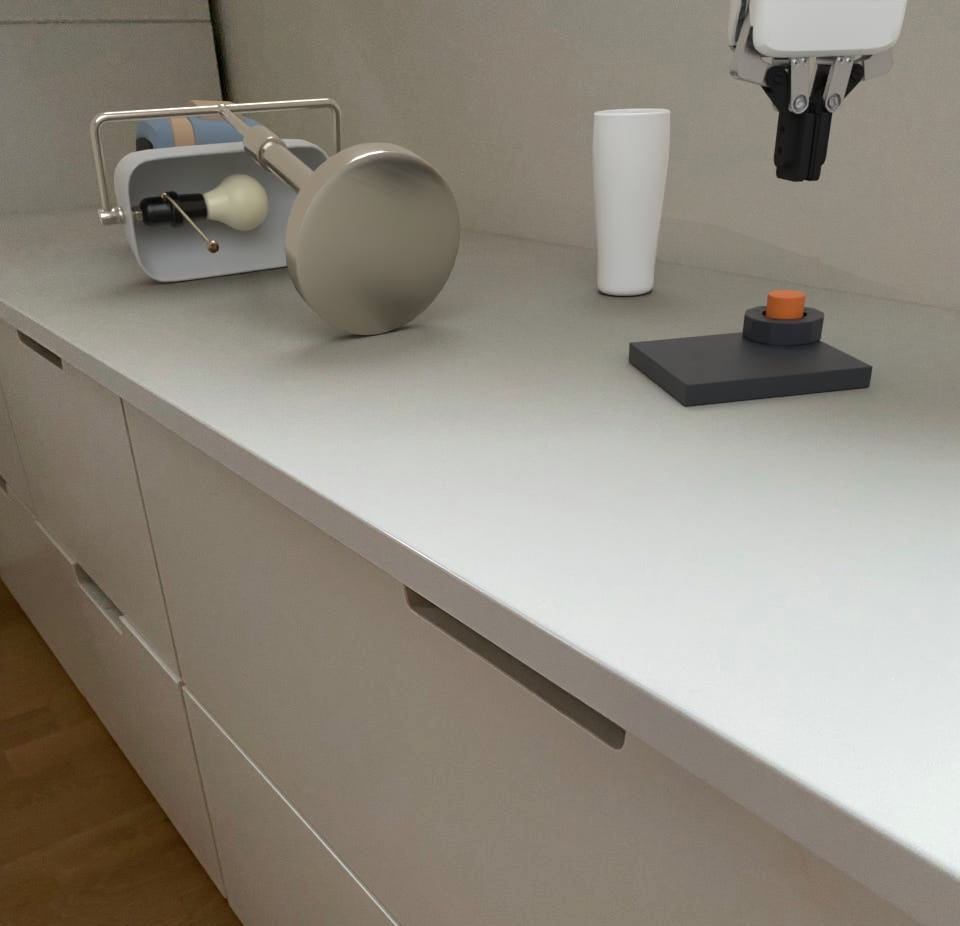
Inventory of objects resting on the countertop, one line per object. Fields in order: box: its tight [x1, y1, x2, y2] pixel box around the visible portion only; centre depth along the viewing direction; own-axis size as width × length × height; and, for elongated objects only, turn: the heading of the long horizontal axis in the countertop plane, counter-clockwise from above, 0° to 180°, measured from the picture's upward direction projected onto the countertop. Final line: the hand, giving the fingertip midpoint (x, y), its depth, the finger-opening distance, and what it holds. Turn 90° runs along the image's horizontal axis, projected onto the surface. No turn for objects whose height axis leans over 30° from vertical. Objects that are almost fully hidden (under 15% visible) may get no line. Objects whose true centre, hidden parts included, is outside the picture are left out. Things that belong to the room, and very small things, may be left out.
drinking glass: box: [591, 107, 672, 297], centre depth 89 cm, size 7×7×15 cm
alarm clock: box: [135, 99, 265, 152], centre depth 121 cm, size 16×16×16 cm
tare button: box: [766, 289, 807, 319], centre depth 71 cm, size 3×3×2 cm
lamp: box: [89, 97, 461, 336], centre depth 92 cm, size 27×23×40 cm
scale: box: [628, 305, 874, 407], centre depth 68 cm, size 14×12×3 cm
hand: (796, 178), depth 66 cm, fingers closed
